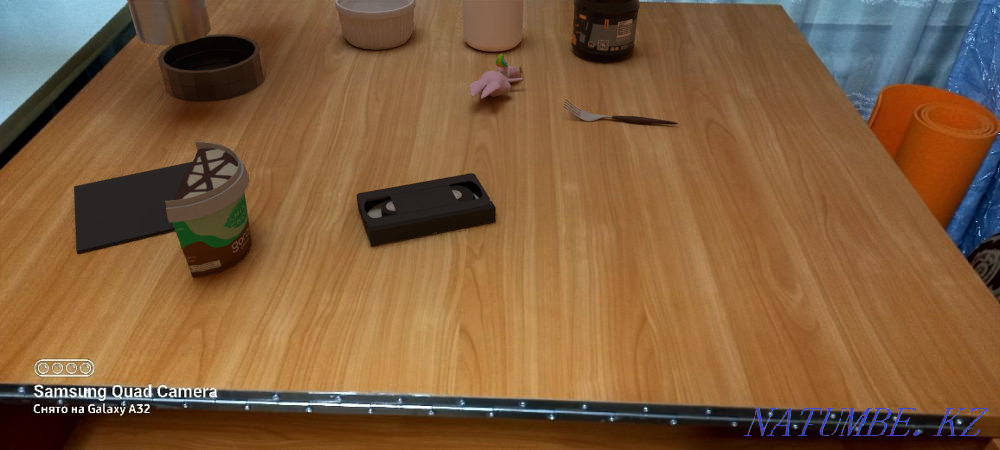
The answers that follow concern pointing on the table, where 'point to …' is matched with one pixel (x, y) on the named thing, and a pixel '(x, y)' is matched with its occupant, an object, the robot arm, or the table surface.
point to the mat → (125, 207)
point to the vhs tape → (424, 208)
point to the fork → (592, 117)
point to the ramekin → (376, 22)
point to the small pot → (169, 20)
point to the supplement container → (604, 29)
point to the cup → (492, 24)
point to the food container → (212, 211)
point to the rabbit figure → (496, 79)
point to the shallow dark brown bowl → (212, 68)
